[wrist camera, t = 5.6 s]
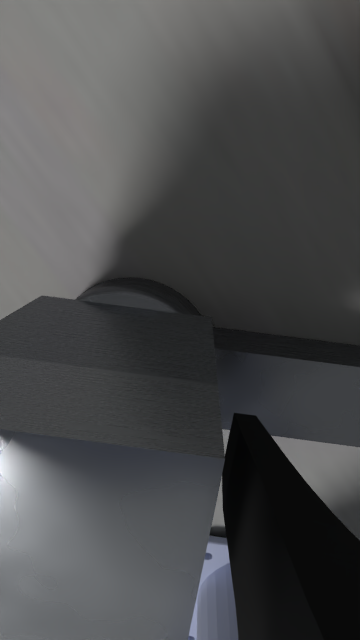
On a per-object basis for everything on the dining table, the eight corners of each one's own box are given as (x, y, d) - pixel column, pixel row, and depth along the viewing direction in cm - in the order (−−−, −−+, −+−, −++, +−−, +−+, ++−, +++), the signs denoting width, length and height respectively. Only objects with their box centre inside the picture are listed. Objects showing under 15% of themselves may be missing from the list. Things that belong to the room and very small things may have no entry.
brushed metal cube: (189, 453, 12) (181, 673, 6) (46, 434, 12) (-87, 634, 7) (211, 317, 10) (224, 459, 5) (41, 295, 10) (-150, 408, 5)
